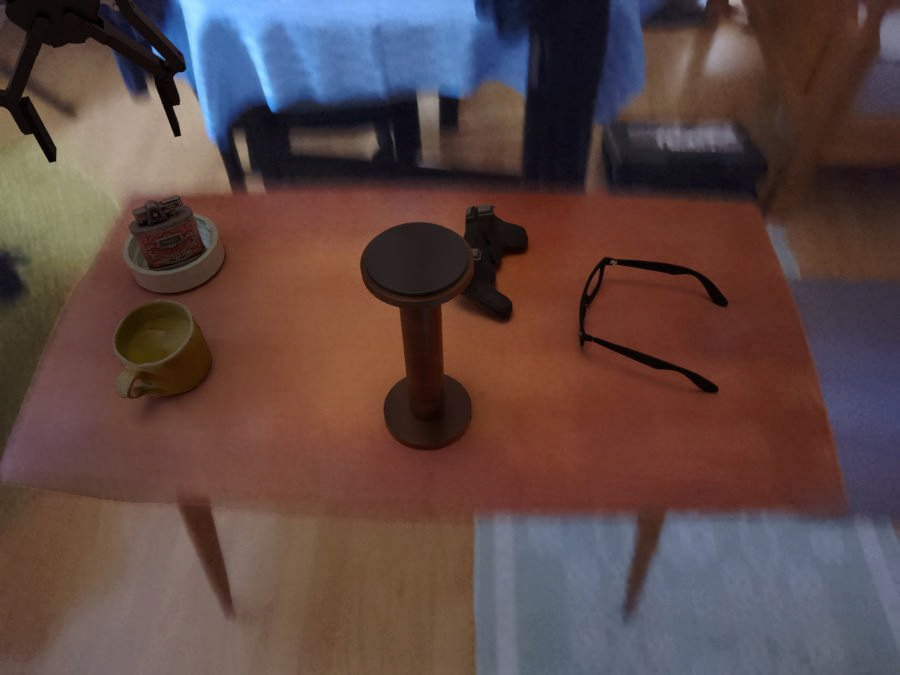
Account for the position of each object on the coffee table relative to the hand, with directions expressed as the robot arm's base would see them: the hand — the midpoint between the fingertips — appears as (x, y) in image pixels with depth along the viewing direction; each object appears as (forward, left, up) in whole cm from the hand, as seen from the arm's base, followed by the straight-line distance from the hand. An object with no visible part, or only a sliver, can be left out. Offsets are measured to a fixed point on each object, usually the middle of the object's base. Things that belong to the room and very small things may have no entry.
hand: (116, 143), depth 78 cm
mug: (-4, -19, -21) cm, 28 cm away
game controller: (+39, -19, -21) cm, 48 cm away
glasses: (+53, -36, -21) cm, 67 cm away
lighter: (+1, +1, -20) cm, 20 cm away
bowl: (+1, +1, -20) cm, 21 cm away
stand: (+23, -36, -21) cm, 47 cm away
